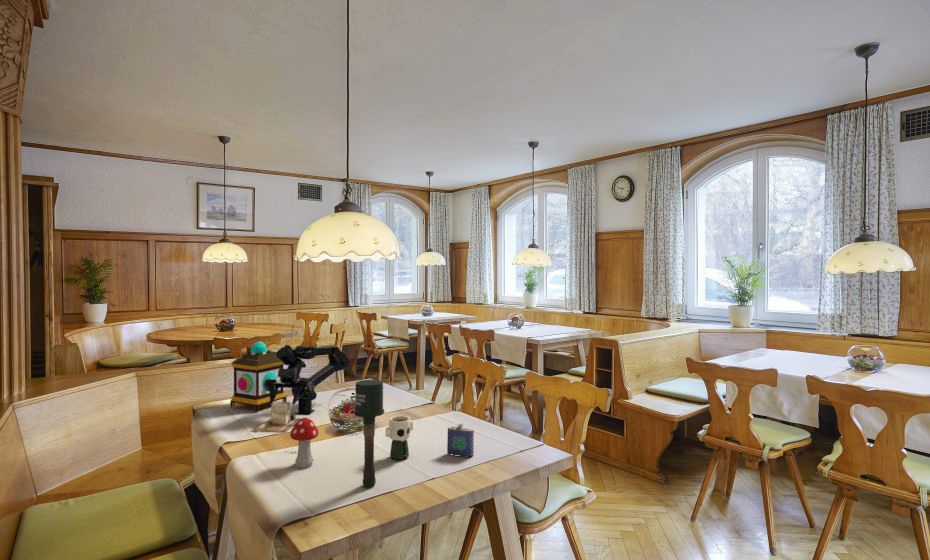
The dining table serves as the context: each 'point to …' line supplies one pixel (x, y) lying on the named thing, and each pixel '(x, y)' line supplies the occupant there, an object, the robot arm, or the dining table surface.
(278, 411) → the cream rectangular block
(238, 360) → the decorative lantern
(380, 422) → the dining table surface
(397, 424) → the character mug
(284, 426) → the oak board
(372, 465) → the potato masher grenade
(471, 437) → the flask
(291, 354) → the robot arm
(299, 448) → the decorative mushroom
